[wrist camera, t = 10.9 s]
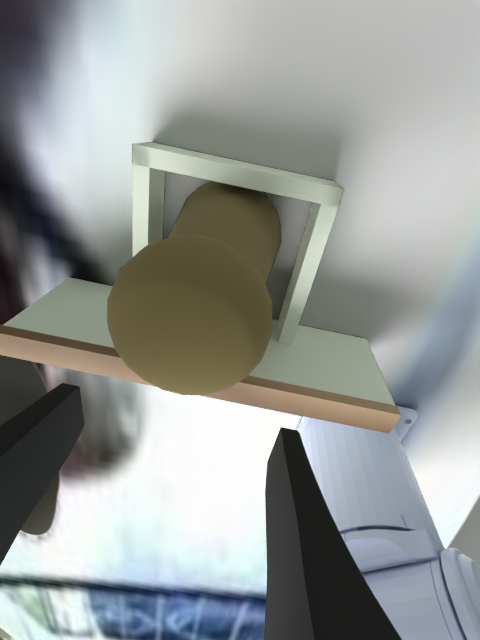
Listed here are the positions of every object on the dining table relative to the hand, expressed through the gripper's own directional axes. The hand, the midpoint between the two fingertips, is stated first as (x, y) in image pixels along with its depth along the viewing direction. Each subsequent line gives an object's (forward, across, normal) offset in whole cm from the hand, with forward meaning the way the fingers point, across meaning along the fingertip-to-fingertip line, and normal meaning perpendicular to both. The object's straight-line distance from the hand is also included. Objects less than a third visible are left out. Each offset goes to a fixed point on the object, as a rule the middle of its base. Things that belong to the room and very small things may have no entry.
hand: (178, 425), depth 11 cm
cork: (+11, 0, -4) cm, 11 cm away
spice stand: (+10, 0, -3) cm, 11 cm away
